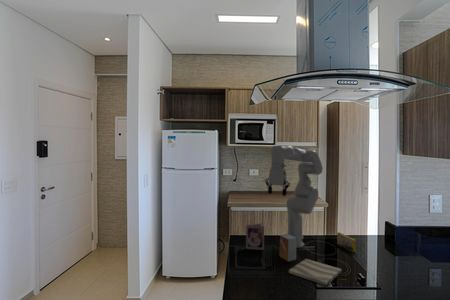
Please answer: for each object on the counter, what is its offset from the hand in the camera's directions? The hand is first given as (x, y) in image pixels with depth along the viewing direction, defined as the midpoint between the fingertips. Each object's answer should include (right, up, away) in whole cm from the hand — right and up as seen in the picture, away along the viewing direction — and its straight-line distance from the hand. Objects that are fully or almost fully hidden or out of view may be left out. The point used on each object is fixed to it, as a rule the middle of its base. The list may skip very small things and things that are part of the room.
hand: (277, 194), depth 173 cm
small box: (+5, -37, -4) cm, 38 cm away
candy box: (+47, -37, +13) cm, 62 cm away
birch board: (+16, -37, -23) cm, 47 cm away
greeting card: (-12, -36, +12) cm, 40 cm away
